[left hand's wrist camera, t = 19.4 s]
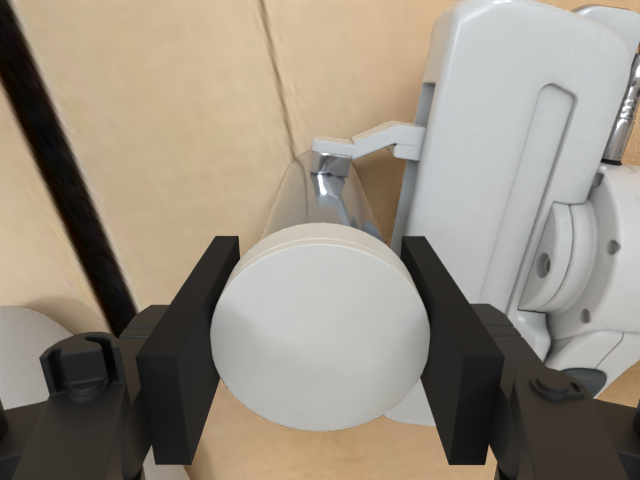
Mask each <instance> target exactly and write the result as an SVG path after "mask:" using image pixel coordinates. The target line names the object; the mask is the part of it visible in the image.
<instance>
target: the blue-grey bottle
mask: <svg viewBox="0 0 640 480" xmlns="http://www.w3.org/2000/svg"><path fill="white" fill-rule="evenodd" d="M310 154H311V150H310V151H307V152H305V153H303V154H301V155H299V156H298V157H297V158H296V159H295V160H294V161H293V162H292V163H291V164H290V165H289V167H288V169H287V171H286V173H285V176H284V178H283V181H282V184H281V186H280V189H279V191H278V194H277V197H276V199H275V202H274V205H273V207H272V210H271V212H270V215H269V218H268V220H267V223H266V225H265V228H264V231H263V233H262V236H261V238H260V240H262V239H264V238H266V237H267V236H269V235H271V234H273V233H275V232H277V231H280V230H282V229H285V228H288V227H292V226H295V225H301V224H307V223H333V224H340V225H344V226H349V227H353V228H355V229H358V230H361V231H363V232H366V233H368V234H369V235H371V236H373V237H375V238H377V239H378V240H380V241H381V242H382V243H384V241H383V238H382V236H381V233H380V231H379V228H378V225H377V223H376V220H375V218H374V215H373V213H372V210H371V207H370V205H369V202H368V200H367V197H366V195H365V192H364V190H363V187H362V184H361V182H360V179H359V177H358V174H357V172H356V170H355V168H354V166H353V165H352V163H351V164H350V170H349V176H348V178H344V177H336V176H333V175H332V174H330V173H329V172H328V173H326V174H314V173H311V172H309V163H310ZM384 244H385V243H384Z"/></svg>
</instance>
